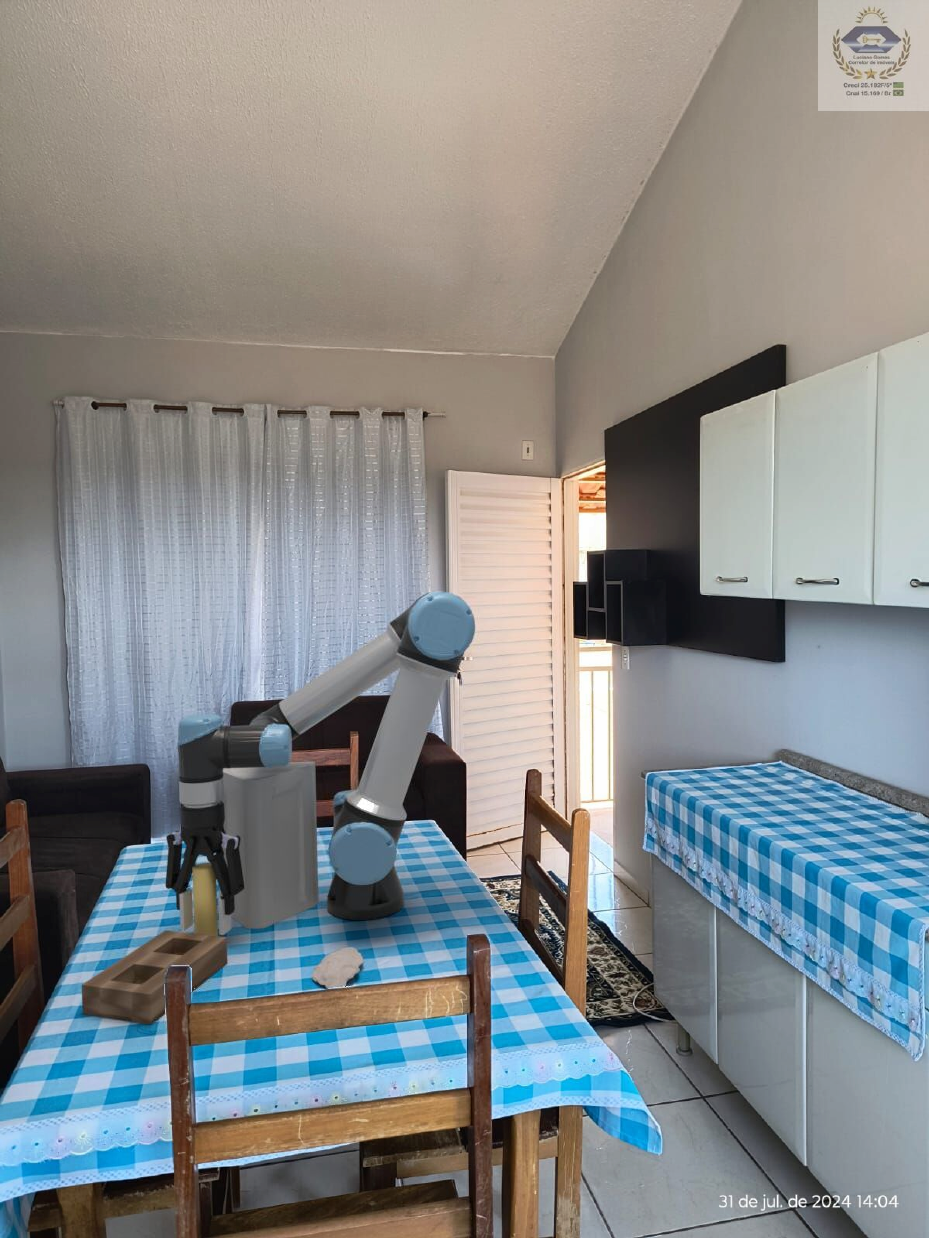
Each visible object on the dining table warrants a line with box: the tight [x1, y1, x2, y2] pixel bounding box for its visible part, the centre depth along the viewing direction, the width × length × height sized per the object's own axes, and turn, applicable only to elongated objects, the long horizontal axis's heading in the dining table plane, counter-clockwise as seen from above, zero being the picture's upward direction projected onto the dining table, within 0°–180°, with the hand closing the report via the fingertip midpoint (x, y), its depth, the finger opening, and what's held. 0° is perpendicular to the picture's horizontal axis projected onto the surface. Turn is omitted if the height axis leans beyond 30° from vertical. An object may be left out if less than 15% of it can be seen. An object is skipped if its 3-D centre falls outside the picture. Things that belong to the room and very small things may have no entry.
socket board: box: [81, 930, 228, 1026], centre depth 130 cm, size 12×20×4 cm, turn 164°
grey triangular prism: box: [218, 761, 319, 930], centre depth 159 cm, size 19×15×28 cm
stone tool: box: [311, 946, 364, 989], centre depth 133 cm, size 8×3×15 cm
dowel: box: [192, 862, 219, 936], centre depth 146 cm, size 4×4×14 cm
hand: (206, 929), depth 146 cm, fingers open, 7 cm apart
